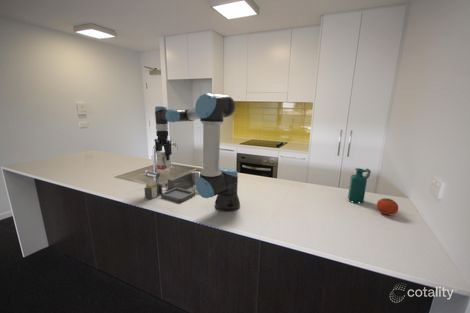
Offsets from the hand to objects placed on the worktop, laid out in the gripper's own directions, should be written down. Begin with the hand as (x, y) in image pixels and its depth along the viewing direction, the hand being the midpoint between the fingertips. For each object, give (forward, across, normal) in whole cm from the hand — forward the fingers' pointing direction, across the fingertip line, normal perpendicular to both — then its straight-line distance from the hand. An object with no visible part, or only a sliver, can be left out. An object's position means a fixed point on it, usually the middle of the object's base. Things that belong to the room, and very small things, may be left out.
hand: (164, 164), depth 148 cm
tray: (+20, -14, +2) cm, 24 cm away
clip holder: (+20, 0, +4) cm, 20 cm away
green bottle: (+21, -118, -53) cm, 131 cm away
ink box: (+3, 0, 0) cm, 3 cm away
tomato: (+21, -133, -41) cm, 140 cm away
